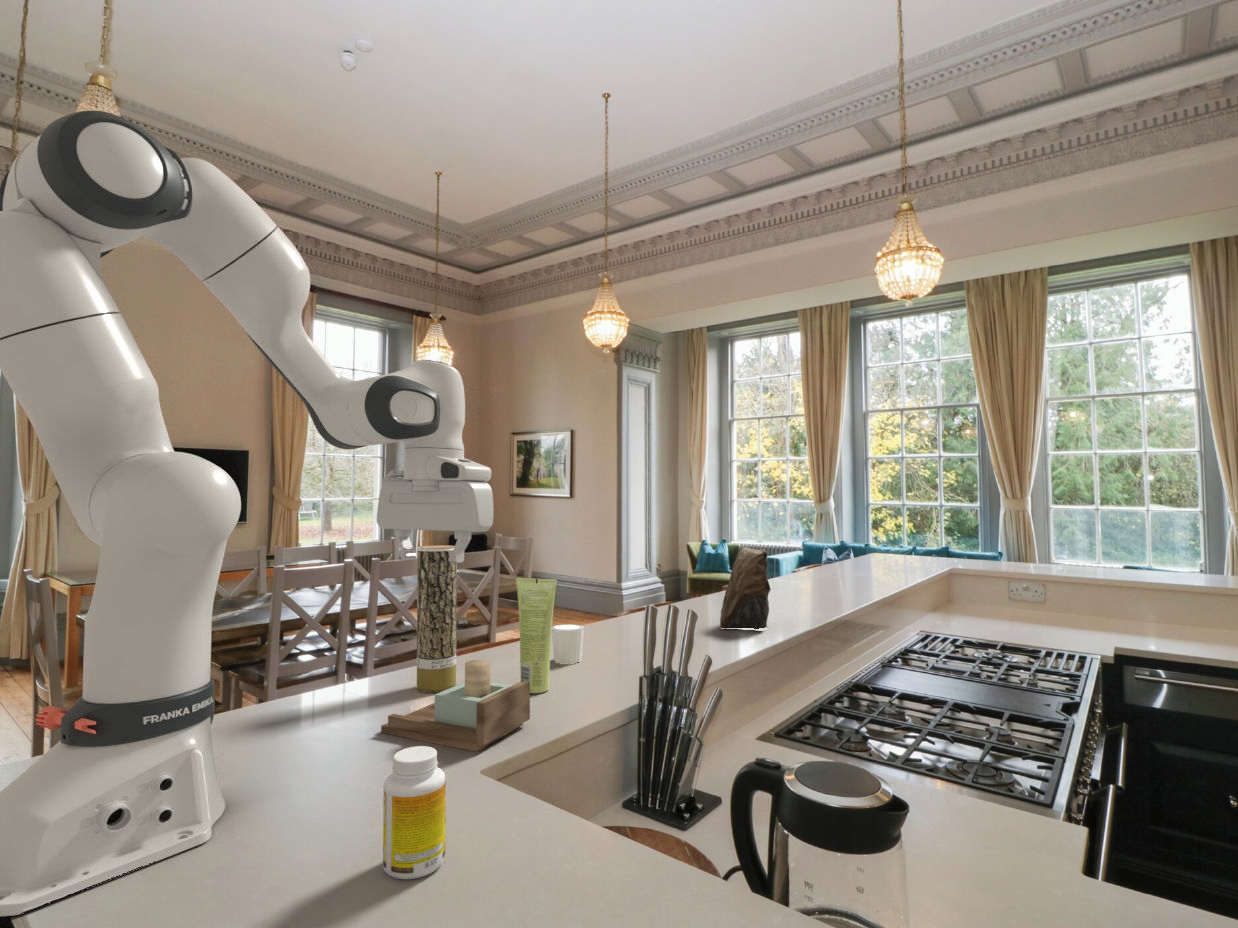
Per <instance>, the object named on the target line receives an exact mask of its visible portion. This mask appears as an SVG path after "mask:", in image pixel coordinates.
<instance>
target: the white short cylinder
mask: <svg viewBox="0 0 1238 928" xmlns="http://www.w3.org/2000/svg"><path fill="white" fill-rule="evenodd" d="M584 633H585V626H584V625H582V624H575V623H564V624H556V625H552V633H551V644H552V651H553V652H552V653H553V662H554V661H555V662H556V663H555V662H554V663H555V664H557V663H563V664H562V665H564V663H565V664H568V665H572V664H571V663H576V664H578V663H577V662H579V661H581V662H582V658H583V645H584V635H585V634H584Z"/></svg>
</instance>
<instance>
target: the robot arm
mask: <svg viewBox="0 0 1238 928" xmlns="http://www.w3.org/2000/svg"><path fill="white" fill-rule="evenodd" d="M139 238H142V239H146V240H149V241H151V242H154V243H156V244H158V245H160V246H161V247H163V248H165V249H166V250H168V251H169V252H171V253H172V254H174V255H175V256H176V257H178V258H179V259H180V260H181V261H182V262H183V263H184V265H185V266H186V267H187V268H188V269H189V270H190V271H191V273H193V275H194V276H195V277H196V278H197V279H198V280H200V281H201V283H202V284H203V285H204V286H205V287H206V288H207V289H208V290H209V291H210V292H211V293H212V295H214V297H216V298H217V300H218V301H219V302H221V304H222V305H223V306H224V307H225V308H226V310H228V311H229V312H230V314H231V315H232V317H234V318H235V320H236V321H237V322H238V323H239V325H240V326H241V328H242V329H243V331H244V332H245V334H246V335H247V336H248V338H249V339H250V340H251V342H252V343H253V344H254V346H255V347H256V348H257V349H258V350H259V352H260V353H261V354H262V355H263V357H264V358H265V359H266V360H267V361H268V362H269V363H270V364H271V366H272V367H273V368H274V369H275V371H277V372H278V374H279V375H280V376H281V377H282V378H283V380H284V381H285V382H286V383H287V384H288V385H289V386H290V388H291V389H292V390H293V392H295V393H296V395H297V397H299V399H300V400H301V402H303V404H304V406H305V407H306V410H307V412H308V413H309V416H310V418H311V421H312V423H313V425H314V427H315V429H316V430H317V433H319V435H320V436H321V438H323V440H324V441H326V442H327V443H328V444H329V445H331V446H333V447H336V448H338V449H342V450H357V449H360V448H364V447H368V446H377V445H378V446H379V445H386V444H393V443H394V444H395V443H400V442H403V443H404V447H403V448H404V449H403V453H404V454H403V470H402V469H401V470H397V469H393V470H390V471H389V472H388V473H387V474H386V475H385V476H384V477H383V478H382V482H381V484H382V485H381V488H380V490H379V496H378V502H377V503H378V504H377V508H376V509H377V510H376V523H377V525H378V527H379V528H380V529H381V530H384V529H385V530H394V535H395V536H394V537H395V539H396V542H397V544H398V546H399V548H400V560H405V561H406V560H409V561H411V560H416V558H417V554H416V552H417V547H413V545H412V542H411V539H410V537H412V534H413V533H412V532H413V531H434V532H435V531H436V532H437V531H438V532H439V531H440V532H443V531H444V532H454V540H456V543H455V545H454V546H455V547H454V549H453V550H449V562H453V563H464V561H465V550H466V549H467V547H468V545H469V544H470V542H471V540H472V533H473V532H474V533H479V532H481V533H483V532H488V531H489V530H490V529H491V527H492V526H493V524H494V496H493V495H494V494H493V489H492V487H491V485H490V484H489V483H488V482H490V480H491V479H492V468H491V467H489V466H486V465H484V464H481V463H478V462H476V461H473V460H470V459H468V458H465V446H464V445H465V444H464V443H463V430H464V427H465V423H466V398H465V397H466V396H465V388H464V387H465V386H464V381H463V379H462V375H461V373H460V371H459V370H458V369H456V368H455V367H454V366H452V365H450V364H448V363H445V362H442V361H438V360H431V359H422V360H415V361H414V362H412V364H411V365H408V366H407V367H405V368H402V369H400V370H397V371H394V372H391V373H386V374H382V375H377V376H376V375H375V376H371V377H367V378H365V379H360V380H359V379H358V380H353V379H349V378H347V377H345V376H343V375H341V374H340V373H339V372H337V370H335V368H334V366H333V365H332V364H331V363H330V362H329V360H328V359H327V358H326V357H325V355H324V354H323V353H322V351H320V349H319V348H318V347H317V345H316V344H315V343H314V341H313V340H312V338H310V336H309V335H308V334H307V332H306V329H305V328H304V325H303V320H302V315H303V309H304V308H305V306H306V304H307V301H308V299H309V295H310V290H311V289H310V288H311V275H310V269H309V267H308V266H307V263H306V262H305V261H304V260H305V259H303V256H302V255H301V254H300V252H299V250H298V248H297V247H296V246H295V245H294V244H293V242H292V241H291V240H290V238H288V237H287V236H286V234H285V233H284V232H283V231H282V229H281V228H280V227H279V226H278V225H277V224H276V222H274V220H273V219H271V217H270V216H269V215H268V214H267V213H266V211H265V210H264V209H263V208H262V207H260V205H259V204H257V202H256V200H253V199H252V197H250V195H249V194H247V193H246V192H245V191H244V190H243V189H242V188H241V187H240V186H239V185H238V184H237V183H235V182H234V181H233V180H232V179H231V178H230V177H229V176H227V174H225V173H224V172H223V171H221V170H220V169H219V168H218V167H217V166H215V165H214V164H212V163H211V162H209V161H207V160H204V159H202V158H198V157H182V158H181V157H180V156H179V155H178V154H177V153H176V152H175V151H173V149H171V148H169V147H167V146H165V145H163V144H162V143H161V142H160V141H159V140H158V139H157V138H156V137H155V136H153V135H152V134H151V133H149V132H148V131H146V130H145V129H143V128H142V127H140V126H139V125H137V124H135V123H133V122H132V121H130V120H129V119H126V118H124V117H122V116H119V115H117V114H114V113H111V112H107V111H101V110H81V111H77V112H71V113H68V114H65V115H63V116H61V117H59V118H57V119H55V120H54V121H52V122H50V123H49V124H48V125H47V126H46V127H45V128H44V130H43V131H42V132H41V134H40V135H38V136H37V137H36V138H35V139H33V140H31V141H30V142H28V143H27V144H26V145H24V147H23V148H22V149H21V150H20V151H19V153H18V154H17V156H16V157H15V159H14V160H13V163H12V164H11V167H10V169H9V170H7V172H6V173H5V175H4V176H3V179H2V180H1V183H0V371H1V373H2V375H3V377H4V378H5V380H6V382H7V384H8V385H9V387H10V389H11V391H12V392H13V394H14V395H15V398H16V399H17V401H18V402H19V404H20V406H21V407H22V409H23V411H24V413H25V414H26V416H27V418H28V420H29V422H30V423H31V426H32V427H33V430H34V432H35V434H36V436H37V438H38V441H39V443H40V445H41V448H42V450H43V453H44V455H45V458H46V460H47V462H48V465H49V466H50V469H51V471H52V474H53V475H54V476H53V477H54V479H55V480H56V482H57V484H58V487H59V489H60V491H61V492H62V495H63V498H65V501H66V503H67V506H68V507H69V509H70V511H71V513H72V515H73V517H74V519H75V521H76V523H77V525H78V526H79V527H78V528H79V529H80V531H82V532H83V534H84V535H85V536H86V538H88V539H89V541H92V543H94V544H96V545H97V546H99V547H100V555H99V562H98V568H97V572H96V573H97V574H96V579H95V584H94V588H93V593H92V597H91V601H90V606H89V608H88V611H87V612H86V615H85V618H84V633H83V634H84V635H83V636H84V637H83V638H84V639H83V640H84V641H83V662H82V663H83V665H82V666H83V667H82V669H83V670H82V671H83V672H82V674H83V675H82V695H81V696H80V697H78V698H77V701H76V702H75V703H74V705H72V707H71V708H69V709H68V710H67V709H65V708H62V707H58V706H54V705H49V706H45V707H43V708H41V709H40V710H39V712H40V713H37V714H36V716H35V717H36V718H35V719H34V720H35V721H36V722H35V724H36V725H37V726H38V727H39V728H44V729H48V730H54V731H55V730H58V729H60V734H59V735H60V736H59V741H58V742H57V743H55V745H53V746H52V747H51V748H50V749H49V750H48V751H47V752H45V753H44V754H43V755H42V756H40V758H38V759H37V760H36V761H34V763H33V764H31V765H30V766H29V767H28V768H27V769H26V770H24V771H23V772H22V773H21V774H20V775H19V776H17V777H16V778H15V779H14V780H12V782H10V783H9V784H7V785H6V786H5V787H4V788H2V790H0V917H10V916H19V915H22V914H21V912H22V910H23V908H27V907H30V906H35V905H38V904H42V903H43V902H48V901H49V900H52V899H53V898H56V897H58V896H61V895H64V894H65V893H70V892H71V891H75V890H76V889H81V888H82V887H87V886H88V885H92V884H94V883H95V884H96V883H98V882H101V881H105V880H107V879H110V880H112V879H111V878H112V877H115V878H117V877H116V876H118V875H120V876H123V875H124V874H123V873H126V874H128V873H127V871H131V870H132V869H136V868H137V867H141V866H143V867H146V866H148V865H150V864H149V863H151V864H153V862H154V861H155V862H158V861H162V860H163V859H166V858H169V857H171V856H174V855H176V854H179V853H182V852H184V851H186V850H188V849H191V848H194V847H197V846H200V845H202V844H204V843H206V842H207V841H209V840H210V838H211V837H212V834H213V833H212V832H213V825H214V824H215V822H216V821H217V820H218V819H219V818H220V817H221V816H222V815H223V813H224V812H225V809H226V801H225V798H224V797H223V793H222V791H221V787H220V783H219V779H218V774H217V768H216V764H215V756H214V747H213V739H212V738H213V735H212V724H213V721H214V716H215V711H216V709H215V708H216V706H215V703H216V702H215V701H216V696H215V695H216V691H215V690H216V687H215V685H216V684H215V680H214V678H213V677H212V676H211V666H212V665H211V660H212V630H213V629H212V625H213V624H212V621H213V620H212V619H213V610H214V601H215V597H216V591H217V586H218V582H219V578H220V575H221V570H222V565H223V561H224V557H225V554H226V553H225V551H226V549H227V548H226V547H227V544H228V539H229V537H230V536H231V534H232V532H233V531H234V529H235V528H236V525H237V523H238V522H239V519H240V516H241V511H242V501H241V500H242V499H241V494H240V491H239V488H238V486H237V484H236V482H235V481H234V480H233V478H232V476H230V474H228V472H226V471H225V470H224V469H222V467H221V466H218V465H216V464H215V463H213V462H211V461H209V460H207V459H205V458H203V457H201V456H199V455H195V454H192V453H187V452H183V451H175V450H174V448H173V446H172V443H171V440H170V436H169V433H168V430H167V427H166V423H165V420H164V419H165V418H164V416H163V412H162V409H161V403H160V393H159V392H160V390H159V386H158V384H157V381H156V379H155V377H154V375H153V373H152V371H151V369H150V367H149V366H148V363H147V361H146V359H145V357H144V355H143V354H142V351H141V349H140V348H139V345H138V344H137V342H136V340H135V338H134V336H133V334H132V332H131V329H129V326H128V324H127V323H126V320H125V318H124V317H123V315H122V313H121V311H120V309H119V307H118V305H117V304H116V302H115V300H114V298H113V296H112V295H111V293H110V291H109V290H108V288H107V287H106V285H105V280H104V277H103V272H102V269H101V258H103V257H105V256H106V255H108V254H110V253H111V252H113V250H115V249H116V248H118V247H121V246H126V245H127V244H129V243H132V242H133V241H135V240H136V239H137V240H138V239H139ZM155 862H154V863H155ZM145 865H146V866H145ZM141 868H142V867H141ZM136 870H137V869H136ZM131 872H132V871H131ZM122 874H123V875H122ZM118 877H119V876H118ZM105 882H106V881H105Z"/></svg>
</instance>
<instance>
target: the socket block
mask: <svg viewBox="0 0 1238 928" xmlns="http://www.w3.org/2000/svg"><path fill="white" fill-rule="evenodd" d="M513 685H514V684H506V683H500V682H491V681H490V694H489V695H487V696H485V697H482V698H477V697H470V696H465V681H464V682H462V683H460V684H458V685H457V684H456V685H455V686H454V687H452V688H450V689H447V690H445V691H441V692H436V694H434V703H435V713H434V721H435V722H441V723H446V724H452V725H457V726H463V727H468V728H474V729H477V702H479V701H481V700H483V699H485V698H487V697H489V696H491V695H494V694H496V693H498V692H500V691H502V690H504V689H506V688H509V687H511V686H513Z"/></svg>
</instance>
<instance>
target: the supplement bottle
mask: <svg viewBox="0 0 1238 928" xmlns="http://www.w3.org/2000/svg"><path fill="white" fill-rule="evenodd" d="M382 805H383V811H382V812H383V815H382V817H383V819H382V820H383V821H382V822H383V823H382V825H383V826H382V828H383V829H382V830H383V831H382V864H383V869H384V871H385V873H386V874H387V875H389V877H390V876H391V877H392V878H394V879H400V880H414V879H419V878H422V877H425V876H428V875H430V874H431V873H432V874H433V872H435V871H436V870H437V869H439V868H440V866H441V865H443V862H444V860H445V857H446V774H445V772H444V771H443V770H442V769H441V768H440V767H438V752H437V750H436V749H435V748H434V747H432V746H425V745H417V746H416V745H415V746H410V747H406V748H403V749H401V750H398V751H397V752H395V753H394V755H393V757H392V772H391V773H390V774H389V775H388V776H387V777H386V778H385V780H384V782H383V804H382Z"/></svg>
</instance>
